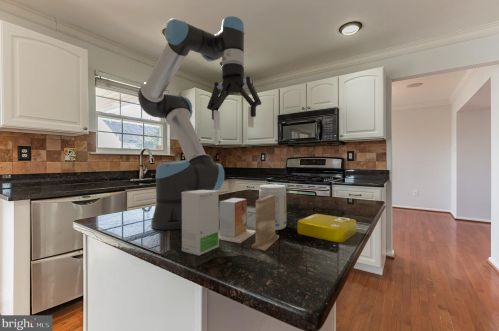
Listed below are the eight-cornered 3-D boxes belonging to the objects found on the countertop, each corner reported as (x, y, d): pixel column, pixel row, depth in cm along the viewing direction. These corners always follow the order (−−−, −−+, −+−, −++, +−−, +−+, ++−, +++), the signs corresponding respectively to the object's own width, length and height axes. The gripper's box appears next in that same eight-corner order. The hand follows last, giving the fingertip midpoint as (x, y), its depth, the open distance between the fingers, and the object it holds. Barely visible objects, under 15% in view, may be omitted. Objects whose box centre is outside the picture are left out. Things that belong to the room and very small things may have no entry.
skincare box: (198, 256, 59) (198, 193, 59) (179, 251, 63) (179, 191, 62) (220, 246, 66) (219, 190, 66) (202, 242, 70) (202, 188, 70)
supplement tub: (273, 222, 92) (273, 183, 92) (292, 227, 85) (292, 185, 84) (253, 226, 86) (253, 185, 85) (272, 232, 79) (272, 187, 78)
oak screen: (251, 247, 65) (251, 200, 65) (266, 236, 75) (266, 194, 75) (265, 250, 63) (265, 201, 63) (279, 238, 73) (279, 195, 73)
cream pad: (208, 237, 74) (208, 235, 74) (227, 228, 84) (227, 226, 84) (240, 243, 69) (240, 241, 69) (256, 232, 79) (256, 230, 79)
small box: (234, 237, 72) (234, 202, 71) (219, 235, 74) (218, 201, 74) (247, 230, 79) (247, 198, 78) (232, 228, 81) (232, 197, 81)
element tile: (315, 224, 90) (315, 211, 90) (357, 232, 80) (357, 218, 80) (295, 234, 78) (295, 219, 78) (341, 244, 69) (341, 228, 69)
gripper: (197, 68, 85) (197, 128, 86) (262, 54, 74) (261, 124, 74) (209, 75, 92) (209, 131, 92) (270, 63, 81) (270, 127, 81)
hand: (233, 128), depth 83 cm, fingers open, 13 cm apart
